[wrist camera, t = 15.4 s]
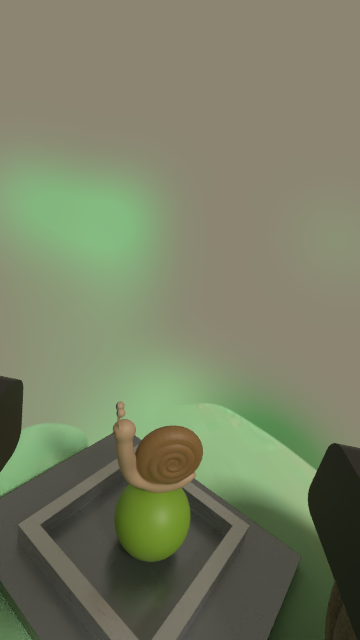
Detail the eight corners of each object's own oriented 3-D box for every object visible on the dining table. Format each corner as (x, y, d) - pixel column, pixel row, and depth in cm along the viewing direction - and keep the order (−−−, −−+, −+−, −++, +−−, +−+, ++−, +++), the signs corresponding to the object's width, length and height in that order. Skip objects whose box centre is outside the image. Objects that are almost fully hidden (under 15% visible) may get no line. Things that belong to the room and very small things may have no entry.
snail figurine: (96, 512, 26) (114, 381, 22) (174, 507, 28) (203, 384, 24) (95, 588, 21) (119, 436, 17) (190, 575, 23) (231, 435, 19)
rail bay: (-40, 531, 24) (-41, 505, 23) (122, 434, 37) (125, 415, 36) (176, 857, 14) (188, 831, 13) (297, 565, 26) (307, 543, 25)
